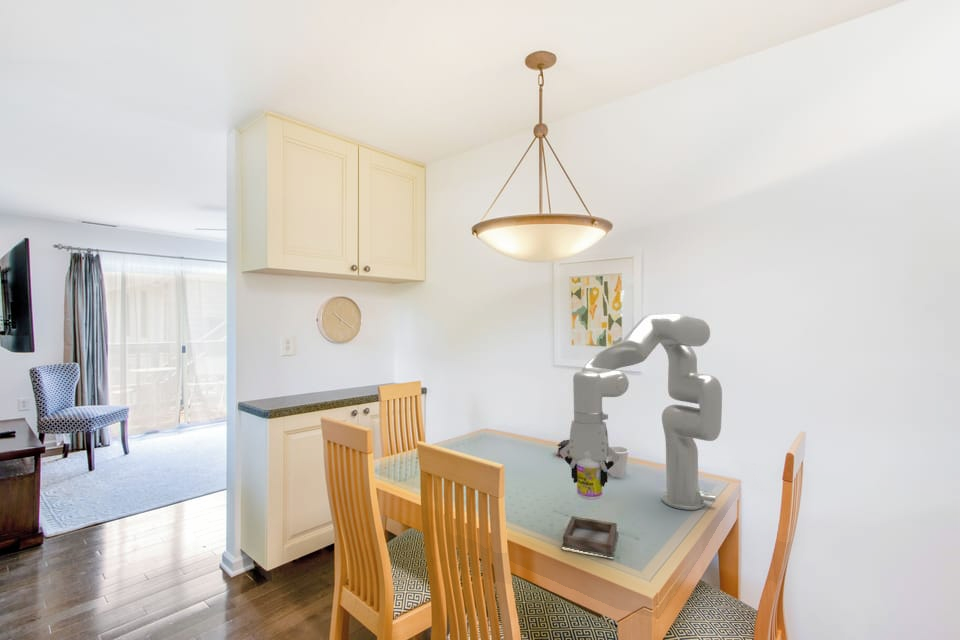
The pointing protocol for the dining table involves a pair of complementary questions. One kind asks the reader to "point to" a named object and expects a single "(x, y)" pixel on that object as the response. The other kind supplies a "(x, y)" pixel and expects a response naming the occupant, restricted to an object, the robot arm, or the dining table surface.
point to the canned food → (562, 445)
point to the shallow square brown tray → (591, 536)
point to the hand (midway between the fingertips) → (589, 482)
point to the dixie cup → (619, 462)
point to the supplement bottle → (589, 478)
